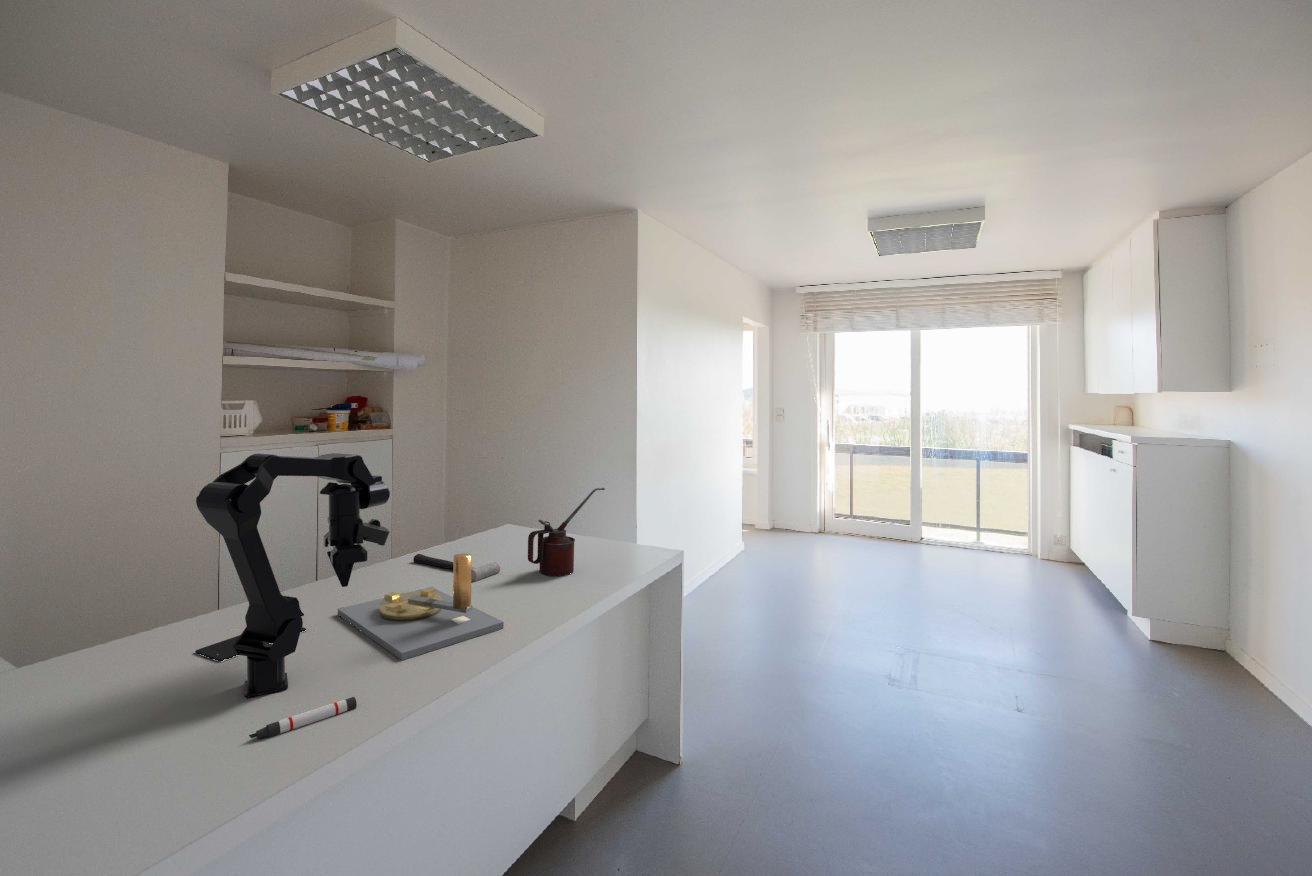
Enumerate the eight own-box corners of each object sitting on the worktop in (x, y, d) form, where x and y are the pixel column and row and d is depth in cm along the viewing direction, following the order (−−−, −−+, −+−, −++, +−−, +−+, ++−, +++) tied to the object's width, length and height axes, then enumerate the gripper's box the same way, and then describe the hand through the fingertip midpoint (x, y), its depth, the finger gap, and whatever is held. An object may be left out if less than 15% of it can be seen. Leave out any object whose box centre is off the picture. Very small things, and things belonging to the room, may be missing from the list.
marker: (352, 705, 102) (352, 694, 101) (356, 710, 100) (356, 698, 100) (247, 740, 91) (247, 728, 90) (250, 746, 89) (250, 733, 89)
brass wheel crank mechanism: (365, 614, 137) (365, 552, 136) (408, 596, 150) (408, 539, 149) (449, 630, 129) (450, 564, 128) (486, 609, 143) (487, 549, 142)
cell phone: (307, 632, 131) (307, 628, 131) (220, 664, 115) (220, 659, 115) (281, 624, 135) (281, 620, 135) (193, 654, 119) (193, 650, 118)
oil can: (539, 581, 171) (541, 497, 169) (520, 572, 179) (521, 492, 177) (613, 565, 190) (615, 489, 189) (593, 557, 198) (594, 485, 196)
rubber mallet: (429, 549, 191) (500, 562, 178) (429, 560, 191) (500, 574, 178) (404, 556, 183) (477, 570, 169) (404, 567, 183) (477, 583, 169)
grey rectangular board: (337, 614, 141) (337, 607, 141) (431, 592, 159) (431, 586, 159) (402, 660, 119) (402, 652, 118) (503, 628, 136) (503, 620, 136)
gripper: (394, 518, 119) (394, 593, 120) (378, 502, 134) (378, 569, 135) (332, 523, 113) (332, 602, 114) (323, 506, 128) (323, 576, 129)
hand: (344, 586), depth 123 cm, fingers closed
